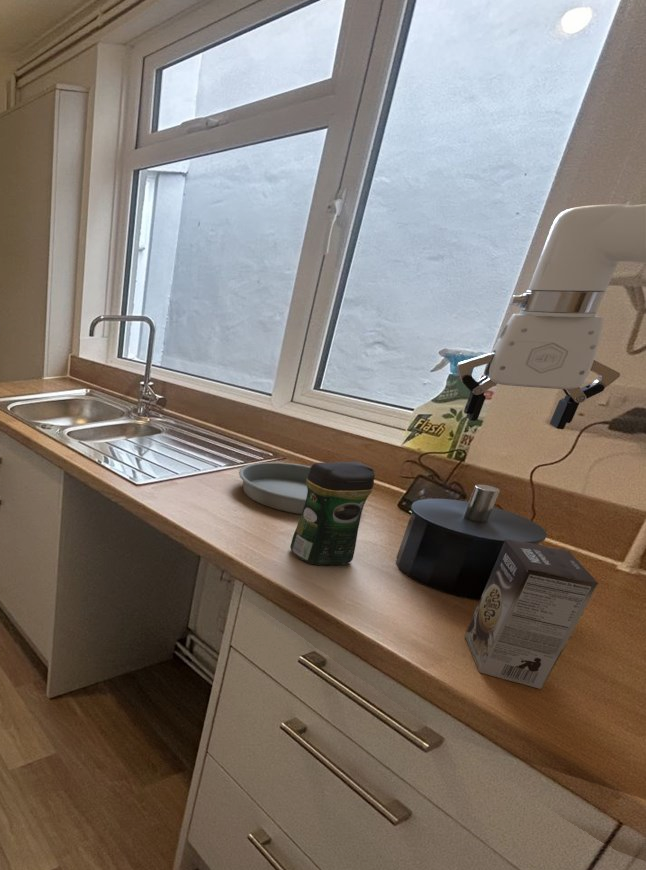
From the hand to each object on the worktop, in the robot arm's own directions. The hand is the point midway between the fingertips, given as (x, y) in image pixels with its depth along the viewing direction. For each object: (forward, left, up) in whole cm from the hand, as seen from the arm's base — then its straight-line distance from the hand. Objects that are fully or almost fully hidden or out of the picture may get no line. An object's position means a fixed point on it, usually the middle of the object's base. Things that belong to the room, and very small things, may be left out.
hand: (512, 422), depth 80 cm
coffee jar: (+20, +3, -28) cm, 34 cm away
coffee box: (-1, +24, -28) cm, 37 cm away
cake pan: (+25, -27, -28) cm, 46 cm away
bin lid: (0, -1, -17) cm, 17 cm away
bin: (0, -1, -28) cm, 28 cm away
